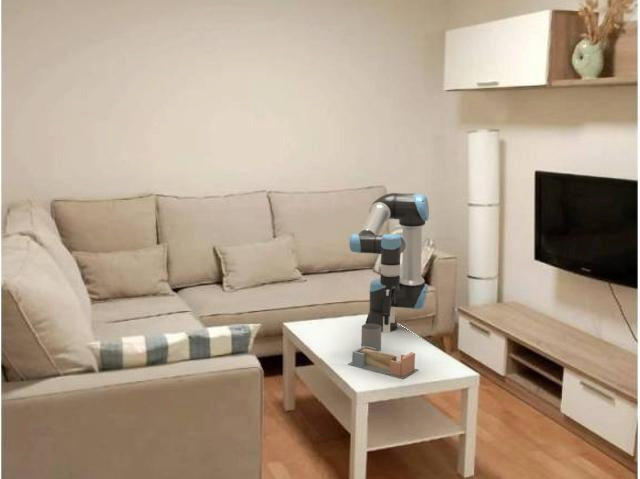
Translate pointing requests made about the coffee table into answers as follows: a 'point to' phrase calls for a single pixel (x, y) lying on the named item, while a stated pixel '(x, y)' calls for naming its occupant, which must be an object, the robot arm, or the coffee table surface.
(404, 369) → the endcap
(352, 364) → the seat
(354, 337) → the coffee table surface
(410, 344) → the coffee table surface
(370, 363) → the tan wooden block
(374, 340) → the cup
